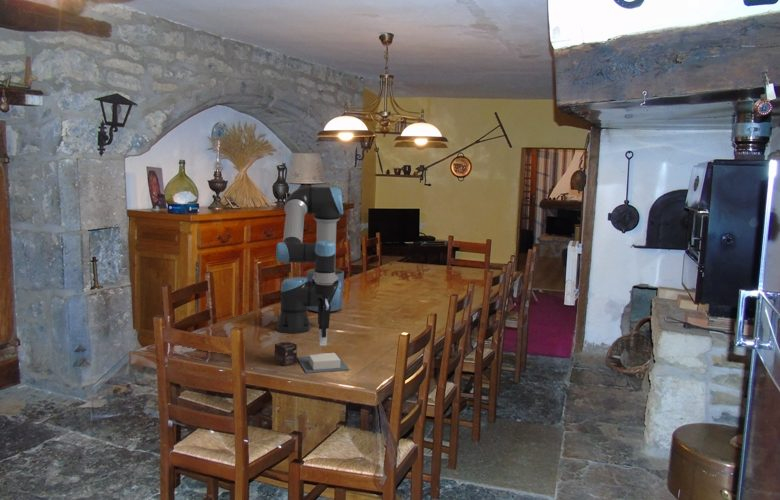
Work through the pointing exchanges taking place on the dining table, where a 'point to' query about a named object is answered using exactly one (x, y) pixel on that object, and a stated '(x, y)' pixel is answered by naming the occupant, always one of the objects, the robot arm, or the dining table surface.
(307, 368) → the mat
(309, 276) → the planter
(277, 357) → the box
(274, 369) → the dining table surface
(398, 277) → the dining table surface
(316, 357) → the light grey flat block
